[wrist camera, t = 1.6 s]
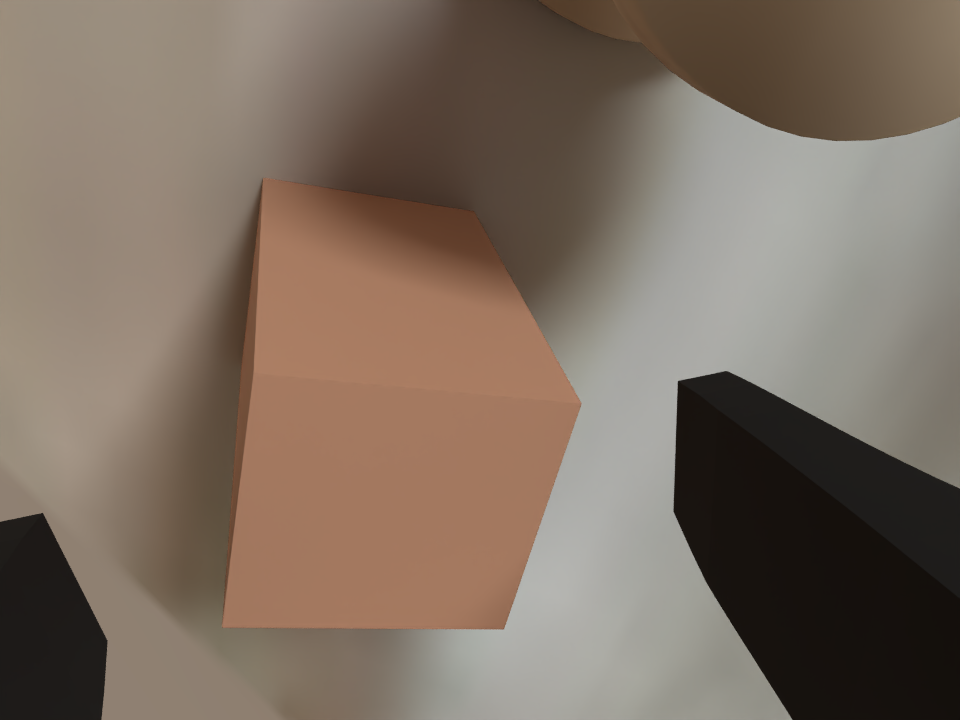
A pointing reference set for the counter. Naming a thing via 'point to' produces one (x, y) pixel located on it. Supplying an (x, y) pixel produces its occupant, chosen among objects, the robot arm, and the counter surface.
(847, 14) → the bobbin
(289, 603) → the salmon pink cuboid
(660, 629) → the counter surface
